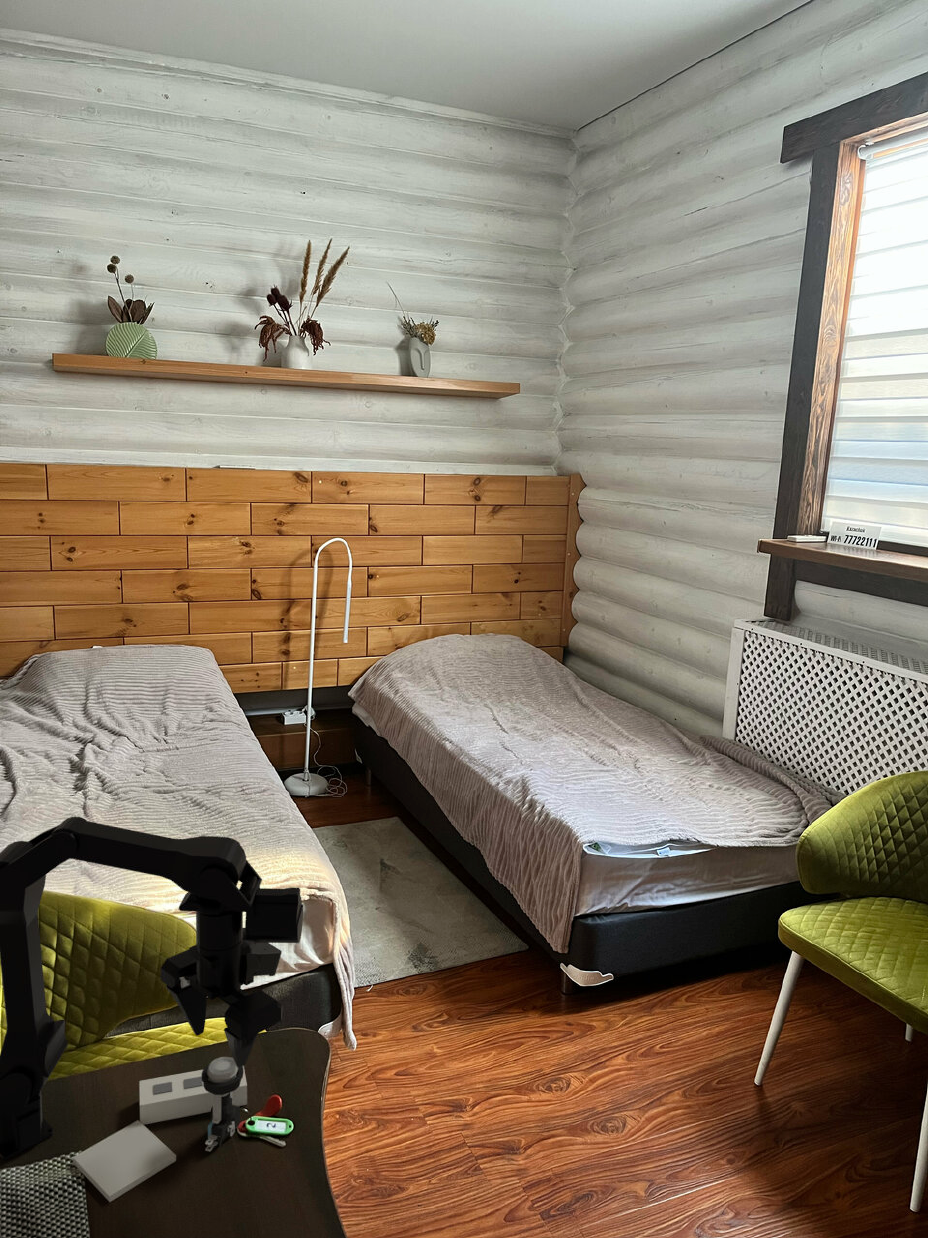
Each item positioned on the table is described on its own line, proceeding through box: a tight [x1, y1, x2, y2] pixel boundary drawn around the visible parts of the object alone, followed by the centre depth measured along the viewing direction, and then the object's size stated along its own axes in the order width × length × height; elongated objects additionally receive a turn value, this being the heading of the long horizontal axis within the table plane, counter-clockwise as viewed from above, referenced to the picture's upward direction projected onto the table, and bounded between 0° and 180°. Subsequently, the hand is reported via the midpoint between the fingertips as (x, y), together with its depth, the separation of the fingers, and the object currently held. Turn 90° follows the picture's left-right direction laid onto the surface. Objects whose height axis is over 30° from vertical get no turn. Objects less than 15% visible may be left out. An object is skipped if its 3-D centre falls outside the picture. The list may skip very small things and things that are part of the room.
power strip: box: [139, 1065, 248, 1126], centre depth 127 cm, size 14×5×4 cm, turn 110°
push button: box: [202, 1056, 243, 1152], centre depth 120 cm, size 7×5×10 cm
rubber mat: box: [72, 1119, 177, 1203], centre depth 116 cm, size 9×9×1 cm
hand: (219, 1049), depth 119 cm, fingers open, 9 cm apart
